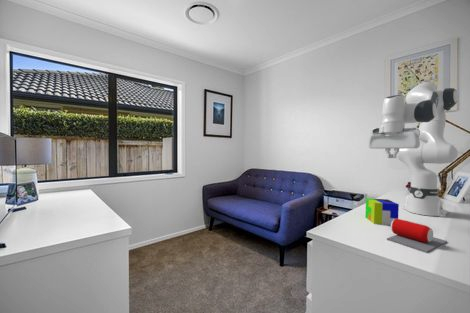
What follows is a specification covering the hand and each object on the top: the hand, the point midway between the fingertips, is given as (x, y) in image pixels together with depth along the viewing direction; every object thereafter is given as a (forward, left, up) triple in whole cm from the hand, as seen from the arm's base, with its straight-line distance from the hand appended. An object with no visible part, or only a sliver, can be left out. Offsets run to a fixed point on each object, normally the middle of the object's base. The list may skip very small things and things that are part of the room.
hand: (391, 158), depth 101 cm
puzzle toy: (+2, -3, -31) cm, 32 cm away
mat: (+15, +16, -31) cm, 38 cm away
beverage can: (+15, +8, -28) cm, 32 cm away
